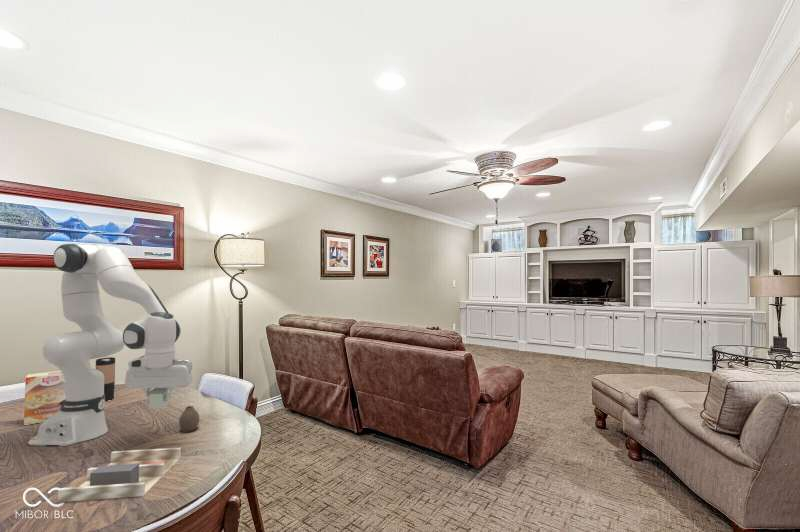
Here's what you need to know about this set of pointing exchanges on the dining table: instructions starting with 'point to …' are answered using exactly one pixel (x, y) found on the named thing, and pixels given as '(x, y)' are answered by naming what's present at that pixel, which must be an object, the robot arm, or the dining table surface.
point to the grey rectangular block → (158, 398)
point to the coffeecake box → (43, 396)
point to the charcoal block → (115, 475)
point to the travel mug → (107, 375)
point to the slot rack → (150, 472)
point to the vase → (189, 419)
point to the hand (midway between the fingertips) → (158, 400)
